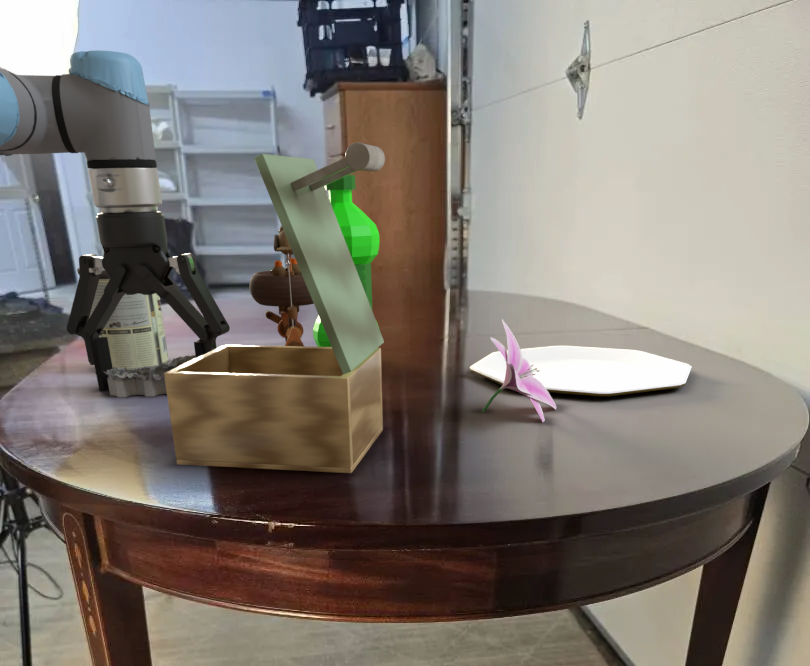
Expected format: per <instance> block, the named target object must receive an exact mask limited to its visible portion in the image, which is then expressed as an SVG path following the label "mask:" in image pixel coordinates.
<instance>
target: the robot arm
mask: <svg viewBox="0 0 810 666" xmlns="http://www.w3.org/2000/svg"><path fill="white" fill-rule="evenodd" d="M68 59H69V60H68V61H69V69H68V73H65V74H64V73H62V74H56V75H38V74H37V75H29V74H27V75H26V74H16V73H14V72H12V71H10V70H7V69H6V68H4V67H1V66H0V156H5V157H11V156H13V155H47V154H67V153H69V154H79V153H82V154H83V153H84V155H85V159H86V168H87V171H88V177H89V182H90V188H91V194H92V201H93V206H95V207H96V208H100V209H99V210H100V213H99V212H98V213H97V215H96V216H95V219H96V225H97V231H98V237H99V242H100V243H99V244H100V245H101V247H102V249H103V256H98V254H96V253H90V254H83V255H80V256H79V257H78V268H80V277H79V276H78V281H77V285H76V289H75V292H74V293H75V294H74V297H73V302H72V306H71V309H70V313H69V318H68V320H67V321H68V322H67V325H66V330H67V333H69V334H70V335H75V336H79V337H81V338H82V339H83V341H84V345H85V350H86V356H87V361H88V363H89V365H90V366H94V369H95V375H96V380H97V386H98V391H99V392H107V391H108V390H109V385H108V380H107V378H108V377H109V375H107V374H105V372H107V370H110V369H113V367H112V362H111V356H110V350H109V345H108V339H107V337H100V338H99V336H100V335H102V334H103V333H101V332H102V330H103V329H104V327H105V325H106V324H107V322H108V320H109V319H110V317H111V315H112V314H113V312H114V310H115V309H116V307H117V305H118V303H119V302H120V300H121V298H122V297H123V296H124V295H125V294H126V295H134V294H137V293H140V294H143V295H152V294H155V293H156V294H157V295H158V296H159V297H160V299H162V300H164V301H165V303H167V305H168V306H169V307H170V308H171V309H172V310H173V311H174V312H175V314H176V315H177V316H179V318H180V319H181V320H182V321H183V322H184V323H185V324H186V326H187V327H188V328H189V329H190V330H191V331H192V333H194V334H195V335H196V336H197V338H198V340H196V341H193V346H194V347H193V348H194V355H195V356H196V358H197V357H199V356H201V355H204V354H206V353H208V352H210V351H212V350H214V349H216V348H218V347H217V339H218V337H220V336H222V335H224V334H227V333H229V332H230V325H229V323H228V321H227V320H226V318H225V316H224V314H223V313H222V311H221V309H220V307H219V305H218V304H217V301H216V300H215V298H214V297H213V296H212V293H211V292H210V289H209V288H208V286H207V284H206V283H205V281H204V279H203V278H202V276H201V274H200V272H199V268H198V263H197V259H196V256H195V255H194V253H191V252H188V253H182V254H179V255H176V256H171V254H170V253H169V250H168V235H167V228H166V221H165V215H164V214H163V213H162V211H159V209H158V207H161V206H162V205H163V198H162V192H161V191H162V190H161V186H160V178H159V173H158V164H157V157H156V149H155V148H156V147H155V141H154V132H153V125H152V117H151V106H150V104H151V103H150V101H149V100H148V99H149V98H148V93H147V89H146V83H145V78H144V73H143V67H142V65H141V62H140V61H139V60H138V59H136V57H134V56H133V55H131V54H129V53H126V52H121V51H113V50H98V49H97V50H88V51H85V50H84V51H82V50H81V51H77V52H73V53H71V54H70V56H69V58H68ZM103 268H104V270H105V271H106V272H107V273H108V275H109V276H110V277H111V278H110V280H109V282H108V284H107V285H106V287H105V289H104V294H103V296H102V297H101V299H100V301H99V302H98V304H97V306H96V308H95V309H94V311H93V313H92V315H91V316H90V313H91V309H92V305H93V301H94V298H95V294H96V290H97V286H98V282H99V278H100V274H101V273H102V271H103ZM173 269H174V271H175V273H177V275H179V276H180V278H181V280H182V282H183V284H184V286H185V287H186V289H187V291H188V292H189V294H190V296H191V298H192V300H193V301H194V303H195V304H196V306H197V308H198V309H197V308H196V307H195V306H194V305H193V304H192V302H191V301H190V300H189V299H188V298H187V297H186V296H185V294H183V292H182V291H181V290H180V287H179V286H178V284H177V283H176V282H175V280H173V279H172V277H171V276H170V275H171V273H172V270H173ZM89 316H90V318H89ZM104 371H105V372H104Z"/></svg>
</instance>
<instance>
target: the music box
mask: <svg viewBox="0 0 810 666" xmlns="http://www.w3.org/2000/svg"><path fill="white" fill-rule="evenodd" d="M277 233H278V234H274V237H273V251H275V252H277V253H280V252H281V254H283V255H285V256H286V265H287V266H286V267H284V266H283V262H282V261H280V260H278V259H277V260H275V261H274V266H273V267H272V269H270V270H262V271H258V272H254V273H253V275H252V276H251V278H250V281H249V293H250V295H251V297H252V299H253V300H254V301H255V302H256V303H257V304H259V305H261V306H264V307H265V306H266V307H278V314H276V313H275V312H272V311H271V310H265V318H266V319H267V320H270V321H272V322H274V323H275V324H277V328H276V329H277V330H276V331H277V332H278V335H279V336H281V338H283V339H284V338H285V339H284V341H285V344H284V346H305V344H304V343H303V341H302V337H303V334H304V326H303V325H302V324H301V323H300V322H299V321H298V314H299V312H300V307H303V306H310V305H314V303H313V300H312V298H311V295H310V293H309V291H308V288H307V286H306V283H305V281H304V278H303V276H302V274H301V271H300V269H299V266H298V264H297V261H296V259H295V257H292V255H294V254H293V252H292V249H291V247H290V244H289V242H288V240H287V237H286V235H285V232H284V230H283V227H282V225H281V226H280V227H279V229H278V231H277Z"/></svg>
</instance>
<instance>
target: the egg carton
mask: <svg viewBox="0 0 810 666" xmlns="http://www.w3.org/2000/svg"><path fill="white" fill-rule="evenodd" d="M195 358H196V355H195V354H194V355H184V356H179V357H176V358H174V357H173V358H172V360H171V362H169V363H161V364H160V365H159V366H154V367H150V366H145V367H140V368H138V367H137V368H135V369H130V370H129V371H127V370H126V367H125V368H118V367H117V368H116V367H113V369H110V370H107V372H105V371H104V372H105V374H107V375H109V377H108V378H107V380H108V385H109V389H108V390H109V396H114V397H115V396H116V398H126V397H129V396H137V395H139V396H140V395H141V396H144V397H156V396H158V395H167V390H166V383H165V376H164V373H165V372H168V371H170V370H172V369H174V368H176V367H178V366H180V365H182V364H184V363H187V362H189V361H191V360H193V359H195Z"/></svg>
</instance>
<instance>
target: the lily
mask: <svg viewBox="0 0 810 666" xmlns="http://www.w3.org/2000/svg"><path fill="white" fill-rule="evenodd" d="M501 322H502V325H503V327H504V331H505V335H506V341H507V349H506V347H505V346H504V344H502V342H501V341H499V340H498V339H496V338H494V337H492V336H490V337H489V338H490V340H491V342H492V343H493V345H494V346H495V347H496V348H497V350H498V351H500V352H501V354H502V355H503V357H504V358H505V360H506V375H505V380H504V383H503V385H501V387H500V388H499V389H497V390H496V392H495V393H494V394H493V395H492V396H491V397H490V399H489V400H488V402H487V403H486V405H485V406H484V408H483V409H482V411H481V413H485V412H486V411H487V410H488V407H489V406H490V405H491V403H492V402H493V401H494V399H495V398H496V397H497V396H498V395H499V393H501V392H502V391H503V390H504V389H509V390H512V391H515V392H516V393H517V392H518V393H519V394H521V395H523V396H525V397H526V398H527V399H529V401H530V402H531V403H532V405H533V406H534V408H535V410H536V412H537V414H538V417H539V418H540V420H541V422H542V423H544V422H545V420H546V419H545V415H544V412H543V409H542V406H541V403H540V402H542V403H544V404H546V405H548V406H550V407H552V408H553V409H554V410H555V411H557V405H556V403H555V401H554V399H553V396H551V394H550V392H548V391H547V389H546V388H545V387H544V386H543V384H542V383H541V382H540V381H538V380H537V379H536V378H534V377H533V375H535V374H533V372H534V371H533V370H536V371H537V372H538V370H537V368H535V369H533V370H532V368H531V367H532V366H533V365H532V366H530V364H529V363H528V361H527V360H526V359H525V358H523V357H522V354H521V350H520V349H521V347H520V345H519V343H518V340H517V338H516V337H515V335H514V333H513V331H512V330H511V329H510V328H509V326H508V324H507V323H506V322H505V320H504V319H503V318H501ZM506 350H508V355H507V351H506ZM532 371H533V372H532ZM539 371H540V370H539Z"/></svg>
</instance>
